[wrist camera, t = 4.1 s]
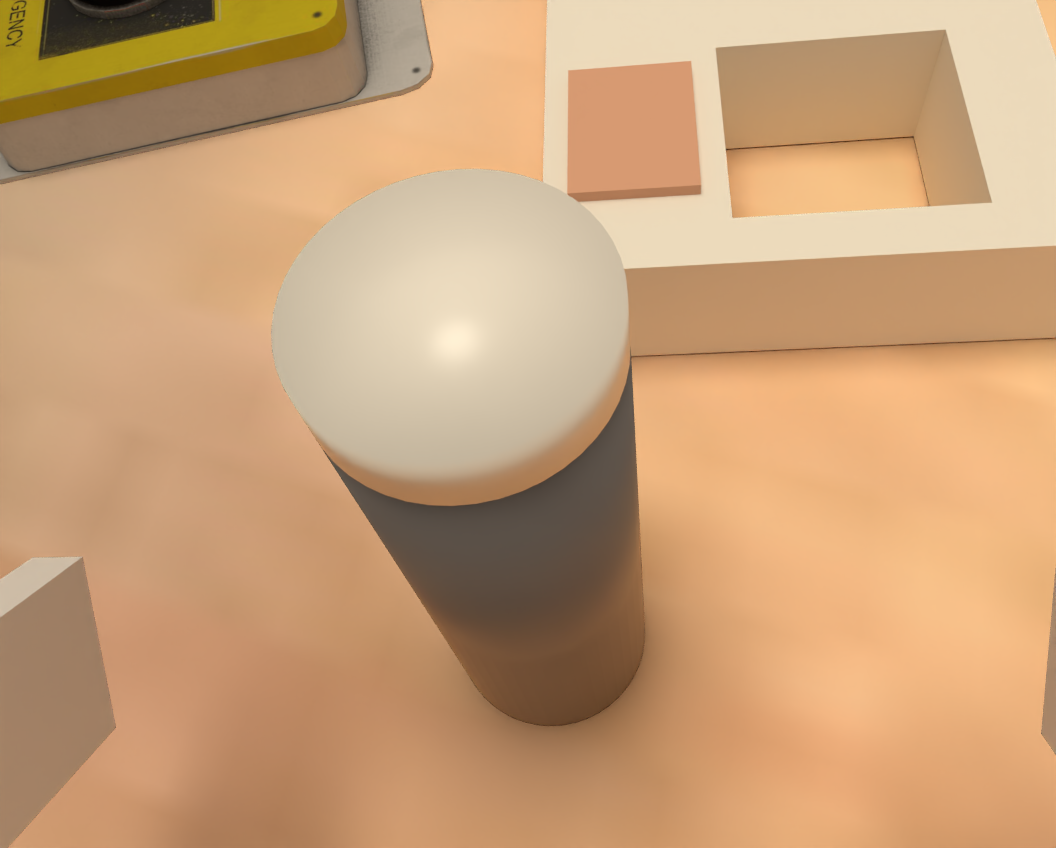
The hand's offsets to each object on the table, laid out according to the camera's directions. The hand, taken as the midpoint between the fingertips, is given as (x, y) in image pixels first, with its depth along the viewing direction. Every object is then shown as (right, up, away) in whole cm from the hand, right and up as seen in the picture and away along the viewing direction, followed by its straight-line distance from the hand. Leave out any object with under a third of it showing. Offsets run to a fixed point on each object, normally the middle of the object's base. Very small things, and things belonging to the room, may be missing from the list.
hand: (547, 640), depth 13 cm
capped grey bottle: (0, -2, +8) cm, 8 cm away
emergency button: (-11, +15, +20) cm, 27 cm away
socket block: (+7, +12, +15) cm, 20 cm away
